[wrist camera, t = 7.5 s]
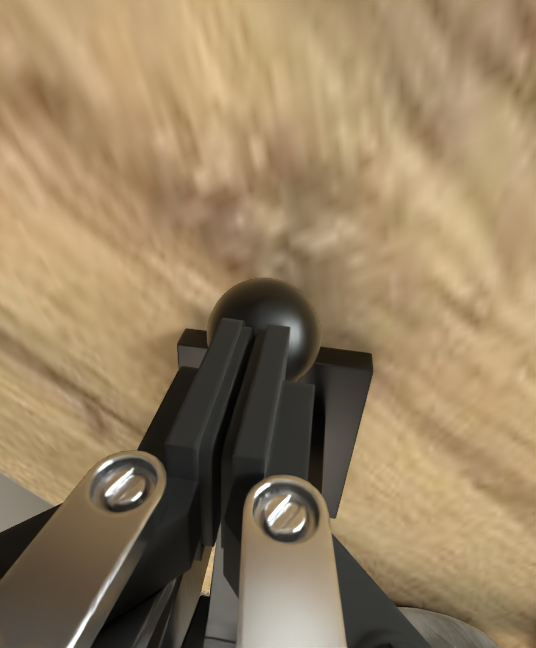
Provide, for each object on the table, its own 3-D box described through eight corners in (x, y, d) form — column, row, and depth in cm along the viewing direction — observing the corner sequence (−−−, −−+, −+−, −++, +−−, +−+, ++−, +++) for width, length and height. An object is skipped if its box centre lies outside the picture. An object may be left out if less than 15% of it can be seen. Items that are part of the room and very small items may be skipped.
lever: (226, 275, 14) (201, 265, 10) (325, 288, 13) (332, 281, 10) (178, 662, 14) (141, 765, 11) (273, 682, 14) (263, 793, 11)
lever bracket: (185, 327, 18) (4, 647, 8) (372, 353, 18) (410, 734, 8) (193, 475, 24) (89, 773, 14) (335, 499, 23) (331, 830, 13)
